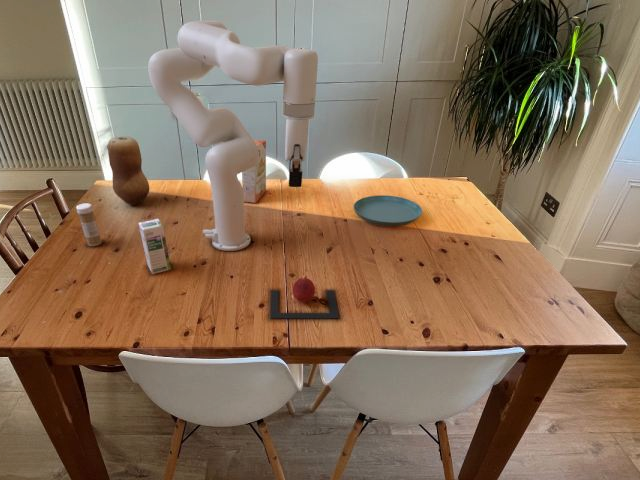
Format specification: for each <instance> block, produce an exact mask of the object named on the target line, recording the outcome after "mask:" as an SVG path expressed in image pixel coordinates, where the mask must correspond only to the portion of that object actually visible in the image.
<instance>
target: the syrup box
mask: <svg viewBox="0 0 640 480" xmlns="http://www.w3.org/2000/svg"><path fill="white" fill-rule="evenodd" d="M138 228H139V232H140V237H141V240H142V241H141V242H142V246H143V250H144V255H145V259H146V265H147V267H148V269H149V270H150V273H151V274H152V275H155V274H159V273H162V272H163V273H164V272H166V271H171V270H172V265H171V260H170V256H169V250H168V245H167V240H166V234H165V229H164V225H163V223H162V222H161V220H160V219H159V218H155V219H151V220H146V221H140V222H138Z"/></svg>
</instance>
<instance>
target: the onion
mask: <svg viewBox="0 0 640 480" xmlns="http://www.w3.org/2000/svg"><path fill="white" fill-rule="evenodd" d="M291 292H292V295H293V297H294V298H295V299H296V301H298V302H300V303H306V302H309V301H310V300H311V299H313V298H314V297H315V295H316V294H315V293H316V286H315V284H314V282H313V281H312V280H311V279H309V278H308V275H306V274H304V275H302V277H301V278H298V279H297V280H296V281H295V282H294V283H293V286H292V291H291Z"/></svg>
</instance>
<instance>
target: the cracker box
mask: <svg viewBox="0 0 640 480" xmlns="http://www.w3.org/2000/svg"><path fill="white" fill-rule="evenodd" d="M253 140H254V141H255V143H256V145H257V147H258V150H259V160H258V162H257V164H256V165H255V166H254V167H252V168H250V169H248V170H246V171H243V172H241V177H242V178H241V185H242V188H243V197H244V203H250V204H257V202H258V201H259V200H261V198H262V197H263V195H264V194H265V193H266V192H267V141H266V140H264V139H253Z"/></svg>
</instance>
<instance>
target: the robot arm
mask: <svg viewBox="0 0 640 480" xmlns="http://www.w3.org/2000/svg"><path fill="white" fill-rule="evenodd" d="M177 45H178V47H173V48H172V47H171V48H165V49H161V50H157V51H156V52H155V53H153V54H152V55H151V56H150V58H149V60H148V64H147V70H148V77H149V81H150V84H151V86H152V88H153V91H154V92H155V93H156V95H157V96H158V98H159V99H160V100H161V101H162V102H163V103H164V104H165V105H166V107H167V108H168V109H169V110H170V112H172V113H173V114H174V116H175V117H176V119H177V121H179V123H180V125H181V126H182V128H183V129H184V130H185V132H186V133H187V134H188V136H189V137H190V138H191V140H192V141H193V142H194V143H195V144H196V146H198V147H200V148H206V147H211V146H212V147H211V148H210V149H208V151H207V152H206V154H205V159H204V160H205V162H204V163H205V168H206V171H207V174H208V178H209V181H210V182H209V183H210V190H211V197H212V206H213V217H214V226H215V227H214V228H212V229H202V236H204V238H205V239H211V244H212V246H213V247H214V248H215V249H217V250H221V251H224V252H235V251H240V250H243V249H246V248H247V247H248V246H249V245H250V244H251V236H250V235H249V234H248V233H247V232H246V218H245V217H246V215H245V202H244V197H243V186H242V182H240V180H239V178H238V175H239V174H242V172H243V171H246V170H248V169H250V168H252V167H254V166H255V165H256V164H257V162H258V160H259V150H258V147H257V145H256V143H255V141H254V140H255V139H254V138H253V137H252V135H251V134H250V133H249V131H248V130H247V129H246V127H245V126H244V124H243V123H242V121H241V120H240V119H239V118H238V116H237V115H236V114H235V112H234V111H232V110H231V109H229V108H226V107H216V108H212V109H210V108H207V106H205V104H204V103H203V102H202V100H201V99H200V98H199V97H198V95H197V94H196V93H195V92H194V91H193V90H191V89H190V88H188V87H187V86H185V85H183V83H185V82H190V81H191V82H192V81H196V80H200V79H202V78H204V77H205V76H207V75H208V74H209V73H210V72H211V70H213V68H214V67H216V68H220V69H221V71H222V72H223V73H224V74H225V75H226V76H227V77H228V78H230V79H231V80H234V81H236V82H240V83H242V84H246V85H248V86H249V85H250V86H255V87H259V86H265V85H269V84H274V83H280V82H283V89H282V96H283V97H282V117H283V118H284V119H286V123H285V145H284V161H285V162H288V161H289V164H288V165H289V166H288V187H289V188H301V187H302V186H303V170H302V169H303V162H304V161H305V159H306V152H307V146H308V134H309V123H310V121H309V120H311V119H313V118H314V117H315V109H316V108H315V107H316V95H317V94H316V93H317V92H316V91H317V78H318V63H319V56H318V54H317V52H316V51H315V50H312V49H308V48H307V49H306V48H293V47H291V46H287V45H283V44H282V45H279V44H278V45H277V44H276V45H268V46H260V47H251V46H247V45H243V44H241V42H240V39H239V37H238V35H237V34H236V33H235V32H234V31H232V30H230V29H228V28H227V27H226V25H225V24H223V23H222V22H221V21H219V20H214V19H213V20H212V19H210V20H209V19H208V20H193V21H192V20H191V21H188V22H185V23H184V24H183V25H182V26H181V27H180V28H179V30H178V33H177Z"/></svg>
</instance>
